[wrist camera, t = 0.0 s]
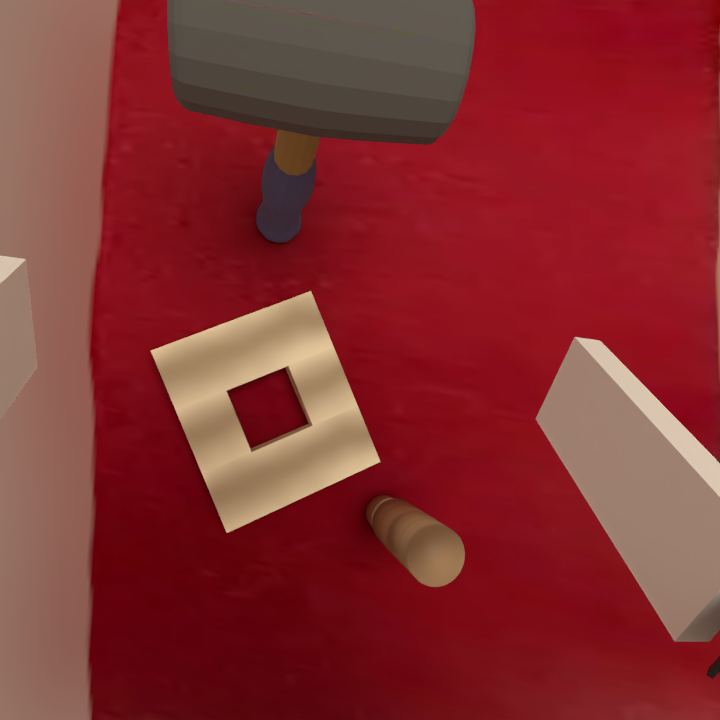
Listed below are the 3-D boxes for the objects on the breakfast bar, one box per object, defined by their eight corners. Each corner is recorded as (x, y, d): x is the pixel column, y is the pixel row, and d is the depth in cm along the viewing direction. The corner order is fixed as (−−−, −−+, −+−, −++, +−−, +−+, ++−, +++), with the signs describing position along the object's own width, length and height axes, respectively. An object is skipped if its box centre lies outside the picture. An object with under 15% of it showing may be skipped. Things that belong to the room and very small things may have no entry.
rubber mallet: (345, 193, 51) (490, -74, 22) (342, 272, 51) (486, 105, 21) (209, 177, 48) (166, -152, 19) (204, 260, 48) (152, 50, 19)
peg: (409, 522, 51) (473, 569, 37) (371, 541, 50) (422, 597, 36) (393, 483, 50) (451, 515, 37) (355, 501, 50) (399, 542, 36)
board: (372, 457, 50) (380, 461, 47) (227, 524, 47) (226, 533, 44) (306, 297, 50) (310, 291, 47) (156, 353, 47) (150, 350, 44)
